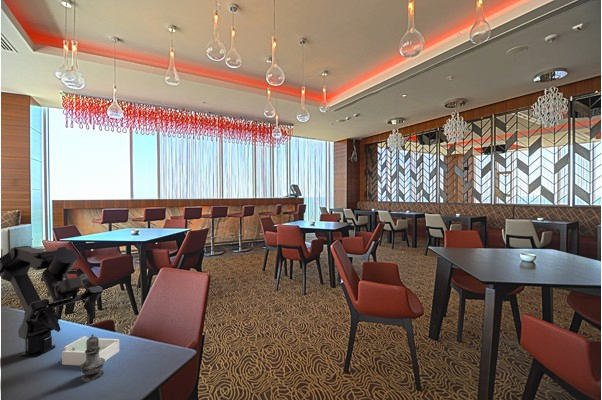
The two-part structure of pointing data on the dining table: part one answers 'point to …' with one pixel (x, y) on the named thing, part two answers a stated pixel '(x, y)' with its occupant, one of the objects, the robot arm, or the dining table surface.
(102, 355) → the box
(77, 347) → the bar
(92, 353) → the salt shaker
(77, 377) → the dining table surface
